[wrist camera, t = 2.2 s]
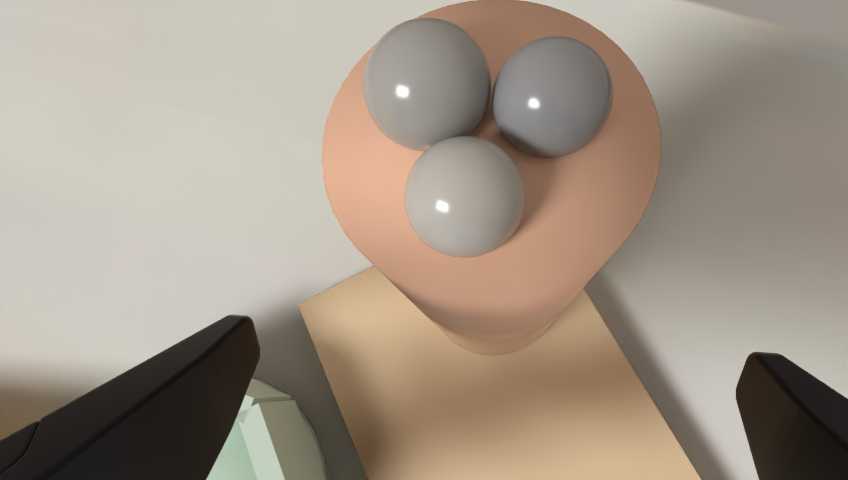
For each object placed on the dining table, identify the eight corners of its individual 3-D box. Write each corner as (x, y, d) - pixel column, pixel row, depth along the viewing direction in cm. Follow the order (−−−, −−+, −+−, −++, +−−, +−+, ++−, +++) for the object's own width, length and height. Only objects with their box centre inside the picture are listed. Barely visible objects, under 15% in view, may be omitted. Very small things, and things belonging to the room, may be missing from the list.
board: (735, 550, 16) (750, 560, 15) (462, 691, 16) (460, 711, 15) (521, 198, 20) (522, 189, 19) (307, 308, 20) (297, 304, 19)
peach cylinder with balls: (582, 318, 18) (797, 151, 5) (464, 379, 18) (383, 365, 5) (516, 208, 19) (554, -131, 7) (407, 264, 19) (235, 33, 7)
